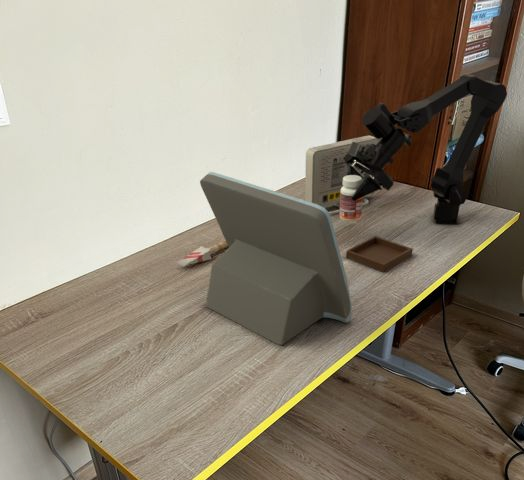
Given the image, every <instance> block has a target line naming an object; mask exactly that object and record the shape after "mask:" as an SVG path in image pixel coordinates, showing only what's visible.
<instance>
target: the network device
mask: <svg viewBox="0 0 524 480" xmlns="http://www.w3.org/2000/svg"><path fill="white" fill-rule="evenodd" d="M379 140H380V138H375V137H374V136H373V135H364V136H359V137H354V138H350V139H345V140H341V141H336V142H331V143H326V144H322V145H316V146H312V147H309V148H308V149H307V150H306V152H305V180H304V183H305V186H304V189H305V190H304V191H305V192H304V200H305V201H308V202H311V203H314V204H317V205H320V206H322V207H323V208H327V207H330V206H335V207H337V208H339V209H336V210H335V209H334V210H332V211H328V212H329V214H330V216H331V215H336V214H340V192H341V188H342V186H343V177H345V176H347V172H348V169H347V165H346V163H347V162H346V161H345V160H344V159H343V158H344V157H345V155H346V154H347V153H348V151H349V149H350V147H351V144H352V142H353V141H354V142H356V143H359V144H361V145H364V146H366V145H367V144H369V145H370V144H372V143H373V144H375V145H376V143H377V142H378V141H379ZM364 173H365V172H364ZM364 173H362V174H360V175H361V176H362V177H363V179H362V182H363V180H364ZM365 174H367V173H365ZM367 175H368V174H367ZM369 176H370V175H369ZM373 194H375V192H372V193H370V194H368V195H365V196H363V199H362V207H365V206H368V205H369V202H370V201H369V199H368V198H365V197H367V196H372V195H373Z"/></svg>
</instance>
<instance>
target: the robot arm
mask: <svg viewBox="0 0 524 480" xmlns="http://www.w3.org/2000/svg"><path fill="white" fill-rule="evenodd" d="M468 95H470V96H471V100H470V114H469V117H468V118H467V121H466V123H465V125H464V127H463V129H462V131H461V134H460V136H459V138H458V140H457V142H456V144H455V147H454V148H453V151H452V153H451V155H450V157H449V159H448V161H447V163H446V164H445V165H444V166H442V167H441V168H440V167H437V168H435V171H434V175H433V177H432V178H431V179H430V181H431V183H430V188H431V192H433V197H434V198H436V200H437V201H436V202H435V203H434V208H433V213H432V217H433V219H434V222H435V224H439V225H440V224H441V225H443V224H446V225H449V224H450V225H458V224H459V220H458V218H459V211H460V207H461V205H464V204H465V203H466V200H467V199H468V196H467V195H466V194H465V192H464V191H463V190H462V188H463V184H464V182H465V181H464V170H465V168H466V165H467V164H468V161H469V160H470V157H471V156H472V153H473V151H474V149H475V147H476V145H477V143H478V141H479V139H480V137H481V135H482V133H483V132H484V128H485V126H486V125H487V123H488V120H489V119H490V118H492V117H493V116H494V115H495V114H496V113H497V112H499V110H500V109H501V106H502V105H503V104H504V103H505V101H506V98H507V96H508V92H507V87H506V86H505V85H504V84H502V83H498V82H494V81H492V80H491V81H490V80H484V79H481V78H479V77H478V76H476V75H472V74H467V73H465V74H463V75H461V76H459V78H457V79H456V80H454V81H453V82H452V83H449V84H448V85H447V86H445V87H443V88H442V89H440V90H438V91H436V92H435V93H433V94H432V95H430V96H428V97H426V98H424V99H422V100H418V101H413V102H410V103H407V104H405V105H403V106H401V107H399V109H398V110H396V111H392V112H390V110H389V109H388V107H387V105H386V104H384V103H382V102H379V103H378V104H377V106H374V107H372V108H370V109H369V110H367V111H366V112H365V113H364V115H363V117H362V120H361V123H362V125H363V126H364V127H365V128H366V129H367V130H368V131H369V132H370V134H371V136H372V137H375V138H378V139H379V141H378V142H377V143H376V145H375V144H373V143H372V144H370V145H369V144H367V145H366V146H364V145H361V144H359V143H356V142H354V141H353V142H352V144H351V147H350V149H349V151H348V153H347V154H346V155H345V157H344V158H343V159H344V160H345V161H346V162H347V163H346V165H347V169H348V172H347V176H348V175H357V176H360V177H361V178H362V179H363V177H362V176H361V175H360V174H362V173H364V172H365V173H367V174H368V175H367V174H365V173H364V180H363V182H362V184H361V185H360V186H359V188H358V189H357V191H356V192H355V193H354V195H353V197H352V200H353V201H355V200H357V199H359V198H361V197H363V196H364V197H366V196H365V195H368V194H370V193H372V192H374V193H375V192H377V191H381V190H382V189H384V190H386V191H390V190H391V188H392V187H393V186H394V182H395V181H394V179H393V178H392V177H391V176H390V175H389V174H388V173H387V172H386V171H385V170H384V168H385V167H386V166H387V165H388V164H390V165H392V164H393V163H394V160H393V157H395V155H396V154H397V153H398V151H400V149H401V148H402V147H403V146H407V147H412V135H411V134H408V133H405V132H404V131H403V130H405V131H408V132H409V133H413V134H416V133H418V132H420V131H421V130H422V129H424V128H425V127H427V126H428V124H430V122H431V120H432V118H433V117H434V116H436V115H438V113H440V112H443V111H444V110H445V109H447V108H448V107H450V106H453V104H455V103H457V102H458V101H461V100H462V99H464V98H465V97H467V96H468ZM396 126H397V128H396ZM369 175H370V176H369ZM342 187H343V186H342ZM368 196H369V195H368ZM364 197H363V198H364Z"/></svg>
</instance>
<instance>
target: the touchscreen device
mask: <svg viewBox="0 0 524 480" xmlns="http://www.w3.org/2000/svg"><path fill="white" fill-rule="evenodd" d="M199 185H200V187H201V190H202V192H203V194H204V196H205V199H206V200H207V203H208V205H209V207H210V209H211V211H212V213H213V215H214V217H215V220H216V222H217V224H218V227H219V229H220V231H221V233H222V235H223V237H224V241H226V242H227V244H228V247H227V249H226V250H225V251H224V252H223V253H222V254H221V255H220V256H219V257H218V258H217V259H216V260H215V261H214V262H212V264H211V269H210V275H209V276H210V277H209V283H208V288H207V289H208V290H207V297H206V303H205V304H206V307H207V308H208V309H210V310H211V311H214V312H215V313H218V314H219V315H221V316H223V317H225V318H227V319H228V320H230V321H233V322H234V323H236V324H238V325H240V326H242V327H244V328H246V329H248V330H249V331H251V332H253V333H255V334H257V335H259V336H260V337H262V338H264V339H267V340H268V341H270V342H272V343H274V344H276V345H279V346H282V345H284V344H285V343H287V342H288V341H290V340H292V339H293V338H294V337H296V336H297V335H299V334H300V333H302V332H303V331H304V330H306V329H307V328H309V327H311V326H312V325H313V324H314V323H316V322H318V321H319V320H321V319H322V318H327V319H328V318H329V319H334V320H337V321H340V322H342V323H348V322H349V321H351V317H352V310H353V306H352V300H351V293H350V289H349V288H350V287H349V283H348V278H347V274H346V269H345V266H344V262H343V258H342V254H341V250H340V246H339V243H338V238H337V236H336V231H335V227H334V223H333V219H332V216H331V215H330V214H329V212H330V211H328V210H327V209H326V207H322V206H320V205H317V204H314V203H311V202H308V201H305V199H301V198H298V197H295V196H292V195H288V194H285V193H282V192H278V191H275V190H273V189H269V188H266V187H262V186H259V185H256V184H253V183H250V182H247V181H243V180H240V179H237V178H234V177H230V176H227V175H224V174H222V173H221V174H220V173H217V172H215V171H214V172H213V171H209V172H208V173H207V174H206V175H205V176H203V177H202V178H201V179H200V181H199Z"/></svg>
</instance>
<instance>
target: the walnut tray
mask: <svg viewBox="0 0 524 480" xmlns="http://www.w3.org/2000/svg"><path fill="white" fill-rule="evenodd" d="M413 250H414V249H413V248H412V247H410V246H408V245H407V246H406V245H404V244H400V243H397V242H395V241H392V240H389V239H386V238H383V237H380V236H377V235H374V236H372V237H371V238H368V239H365V240H364V241H362V242H361V243H359V244H356V245H354V246H352V247H351V248H348V249H347V250H346V255H345V258H346V259H347V260H351V261H353V262H356V263H358V264H361V265H362V266H366V267H369V268H371V269H373V270H377V271H379V272H381V273H385V272H387V271H389V270H390V269H392V268H394V267H395V266H397V265H398V264H400V263H402V262H404V261H405V260H407V259H409V258H411V257H412V256H413Z"/></svg>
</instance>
